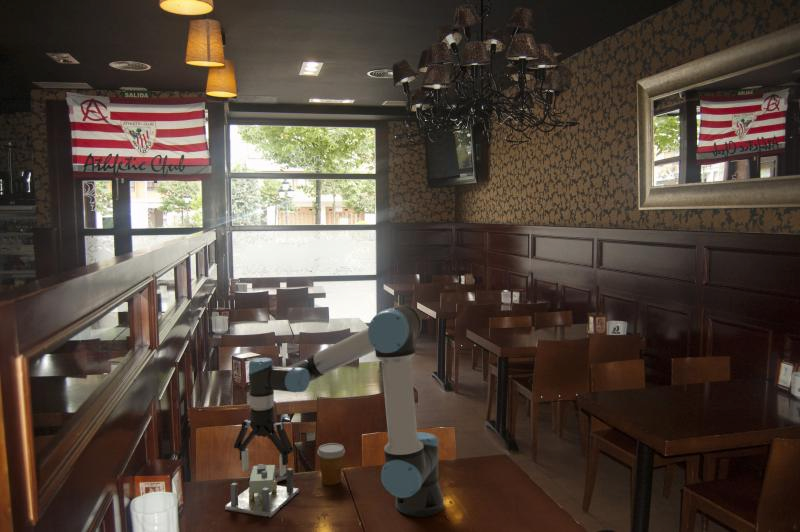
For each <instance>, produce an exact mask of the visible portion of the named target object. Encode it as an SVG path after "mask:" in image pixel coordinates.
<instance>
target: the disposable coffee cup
mask: <svg viewBox="0 0 800 532" xmlns="http://www.w3.org/2000/svg"><path fill="white" fill-rule="evenodd" d="M345 453H346V450H345V448H344V445H343V444H340V443H337V442H334V443H333V442H331V443H330V442H329V443H325V444H322V445H320V446H319V447H318V449H317V453H316V454H317V456H318V458H319V460H318V462H319V468H320V474H321V482H322V484H324V485H326V486H336V485H338V484H339V483H341V479H342V471H343V462H344V455H345Z"/></svg>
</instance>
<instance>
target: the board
mask: <svg viewBox="0 0 800 532" xmlns="http://www.w3.org/2000/svg"><path fill="white" fill-rule="evenodd" d="M262 464H263V465H259V464H257V465H258V466H257V465H253V466H252V473H251V477H249V487H248V488H249V491H250V494H255V493H262V489H263V488H264V487H265V488H269V493H272V492H273V486H274V480H275V476H276V474H275V467H276V465H275V464H267V465H266V463H265V464H264V463H262Z"/></svg>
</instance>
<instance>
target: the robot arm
mask: <svg viewBox="0 0 800 532" xmlns="http://www.w3.org/2000/svg"><path fill="white" fill-rule="evenodd" d="M422 323H423V322H422V317H421V315H420V313H419V312H418V310H416V309H415V308H414V307H413V306H410V305H407V304H398V305H395V306H394V307H393V306H392V307H390V308H385V309H383V310H381V311H379V312H378V313H376V315H375V316H373V317H372V319H371V320H370V322H369V324H368V327H366V328H364V329H362V330H361V331H359V332H356V333H355V334H353V335H350V336H348V337H346V338H344V339H342V340H340V341H339V342H337V343H335V344H333V345H330V346H329V347H327V348H324V349H322V350H320V351H318V352H316V353H315V354H313V355H312V354H311V355H310V356H308V357H306V358H303V359H302V360H299V361H298V362H295V363H293V364H291V365H287V366H278V365H274V361H273V359H272V358H270V357H256V358H253V359H251V360H250V361H249V364H248V381H249V407H250V409H249V419H248V418H247V419H245V420H243V421H241V428H240V430H239V433H238V435H237V438H236V440H235V442H234V444H233V448H234V449H237V450H238V451H239V460H240V461H241V469H242V470H241V472H246V471H248V469H249V468H250V467H249V466H250V465H249V448H247V447H248V446H249V444H250V443H251V442H252V441H253V439H254V438H255V437H263V438H266V437H267V438H268V439H269V440H270V441H271V442H272V444H273V445H274V447H276V449H277V451H278V452H279V453H280V455H278V456H279V457H278V458H279V459H278V460H279V469H280V473H279V475H280V476H283V475H284V474H285V473H286V466H287V465H288V464H289V463H288V462H289V455H290V454H291V453H293V452H294V447H293V445H292V444H291V441H290V439H289V437H288V434H287V432H286V430H285V426H284V425H285V424H284V422H283V421H282V422H280V423H276V422H275V396H274V395H275V391H280V392H290V393H303V392H305V391H306V390H307V388H308V387H309V385H310V383H311V382H313V381H315V380H317V379H319V378H321V377H324V375H326V374H327V375H328V374H329V373H331V372H333V371H335V370H337V369H339V368H341V367H344V366H345V365H346V366H347V365H348V364H350V363H352V362H354V361H356V360H358V359H361V358H362V357H365V356H366V355H369V354H371V353H373V352H375V358H376V359H378V360H379V361H380V362H381V370H382V381H383V382H382V383H383V392H384V393H383V394H384V403H385V416H386V425H387V437H388V438H387V439H388V442H387V444H385V445H384V448H383V449H384V463H385V464H384V465H383V466H382V467H381V468H382V469H381V472H380V480H381V483H382V485H383V486H384V487H383V488H384V489H385V491H388V492H389V493H390V494H391V495H392V496H393V497H394V496H395V507H396V510H398V512H400V513H402V514H403V515H406V516H409V517H415V518H417V517H418V518H423V517H424V518H426V517H431V515H432V516H435V515H437V514H439V513H440V512H442V510H443V509H444V497H443V494H442V491H441V487H440V484H439V447H440V445H439V438H438V437H437V435H435V434H432V433H429V432H424V431H418V428H417V427H418V426H417V417H416V415H417V414H416V403H415V394H414V393H415V392H414V381H413V369H412V358H413V357H414V356H415V355H416V346H415V344H416V343H415V339H416V338H417V337H418V336H419V335H420V332H421V330H422V327H423V326H422V325H423V324H422ZM249 428H251V429H252V430H251V431H250V433H249V434H248V436H247V437H246V438H245V436H246V434H247V432H248V429H249ZM438 512H439V513H438ZM434 514H435V515H434Z"/></svg>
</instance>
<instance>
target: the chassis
mask: <svg viewBox="0 0 800 532" xmlns="http://www.w3.org/2000/svg"><path fill="white" fill-rule="evenodd" d="M263 464H264V463H258V464H257V465H256V466H258V465H263ZM286 473H287V479H286V486H284V485H283V486H282V485H278V482H277V481H276V480H274V486H273V492H272V493H269V488H265V487H264V488H263V489H262V493H255V494H250V491H249V487H248V488H247V489H245V490H244V491H243V492H241V493H240V494H239V483H238V482H232V483H231V484H230V502H228V503H227V504H225V507H224V508H225V510H227V511H232V512H233V511H234V512H239V513H245V514H251V515H256V516H261V517H262V516H263V517H267V516H268V517H269V518H272V517H273V516H275V514H276V513H277V512H278V511H280V508H281V507H282V508H283V507H284V506H285V505H287V503H288V502H290V501H291V500H292V499H293V498H294V496H296V495H297V494H298V493H299V488H297V487H294V468H292V467H287V470H286ZM283 505H284V506H283ZM282 508H281V509H282Z"/></svg>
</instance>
